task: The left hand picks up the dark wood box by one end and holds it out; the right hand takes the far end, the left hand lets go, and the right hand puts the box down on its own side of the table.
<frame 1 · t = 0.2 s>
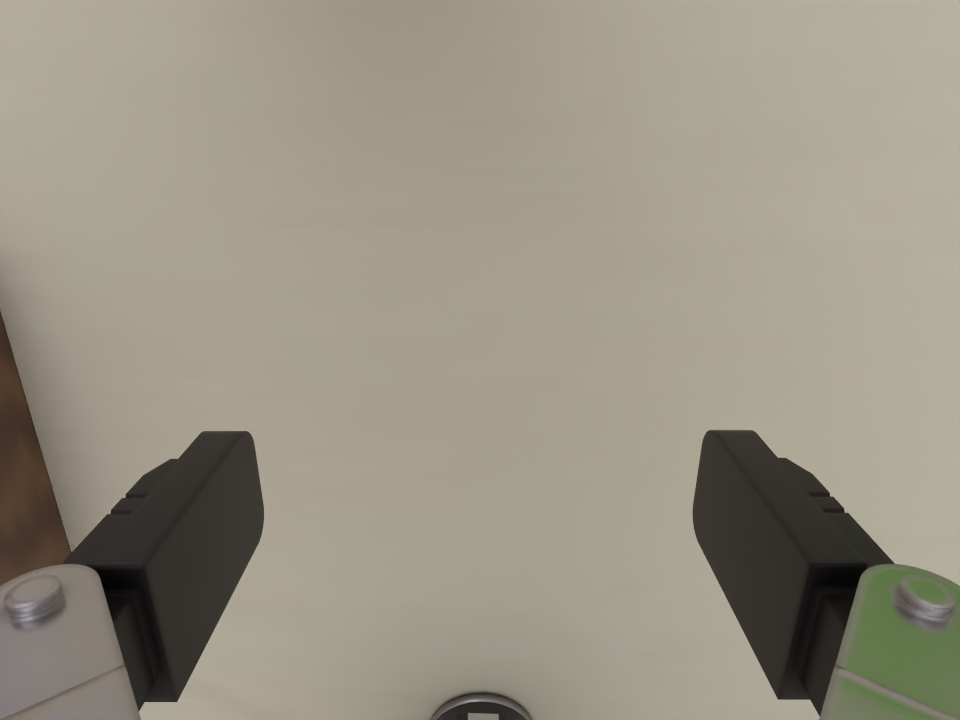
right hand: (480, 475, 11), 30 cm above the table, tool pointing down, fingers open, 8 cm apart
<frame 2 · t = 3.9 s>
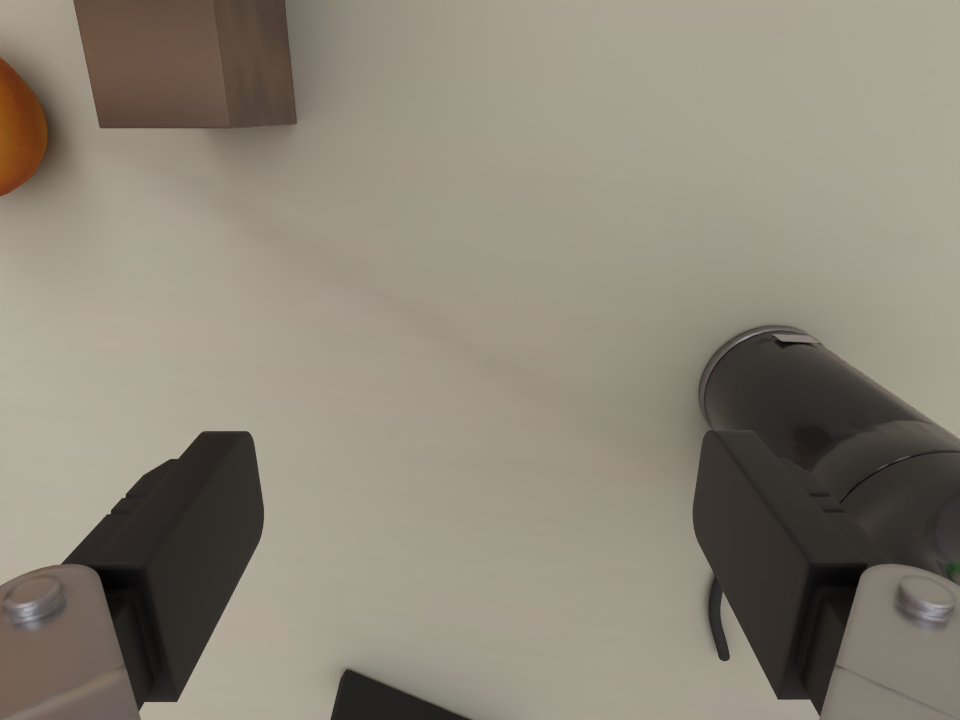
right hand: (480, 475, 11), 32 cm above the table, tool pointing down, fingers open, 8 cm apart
fruit: (2, 119, 39), on the table
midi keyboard: (430, 707, 57), on the table
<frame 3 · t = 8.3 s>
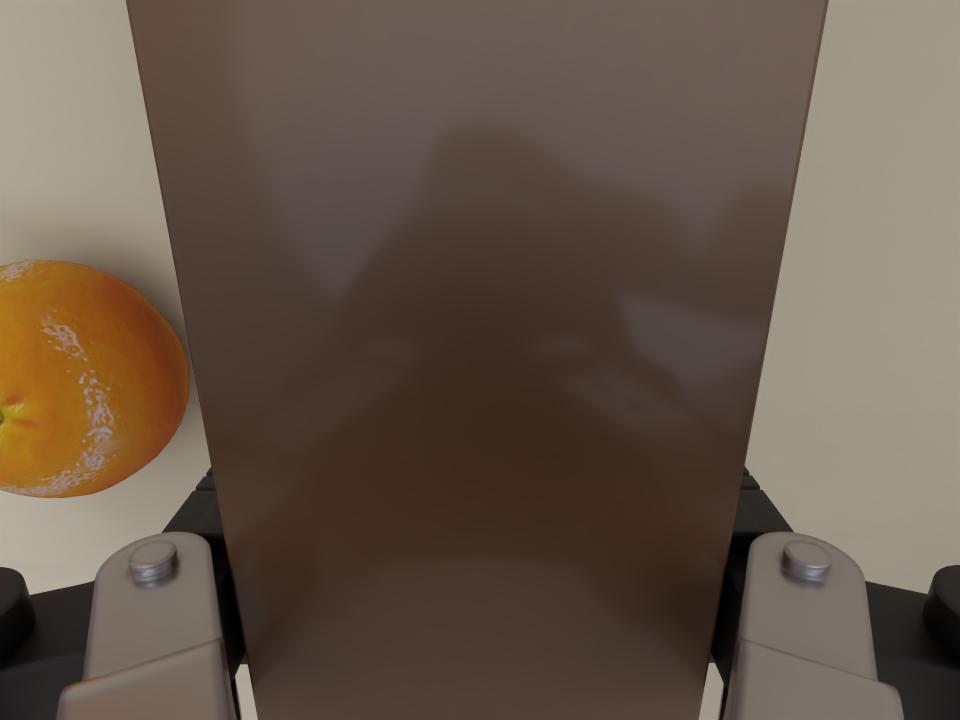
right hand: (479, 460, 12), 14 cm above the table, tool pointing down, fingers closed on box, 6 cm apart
fruit: (113, 346, 26), on the table
when the left hand's fingers open (13 cm above the table, at t = 9.3 s): box stays where it is, held by the right hand.
when the right hand's fingers open (8 cm above the table, at t = 14.2 s): box drops 1 cm, on the table.
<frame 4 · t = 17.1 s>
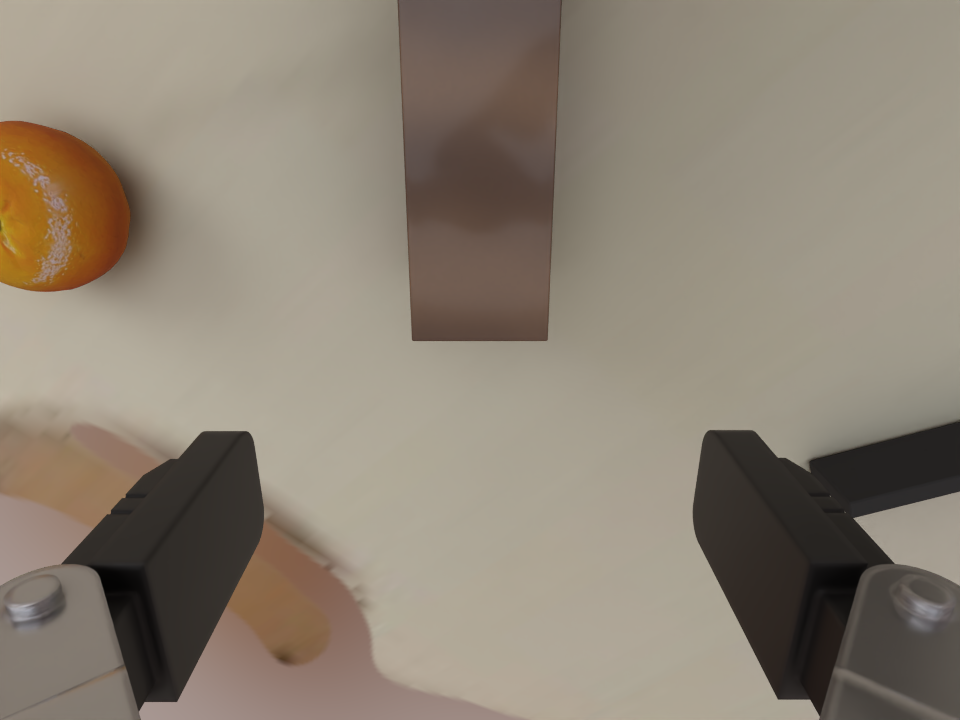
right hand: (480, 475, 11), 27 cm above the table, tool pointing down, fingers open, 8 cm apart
fruit: (79, 200, 36), on the table
box: (479, 43, 33), on the table
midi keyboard: (941, 432, 42), on the table
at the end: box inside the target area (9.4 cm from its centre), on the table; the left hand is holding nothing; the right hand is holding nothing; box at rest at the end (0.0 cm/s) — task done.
